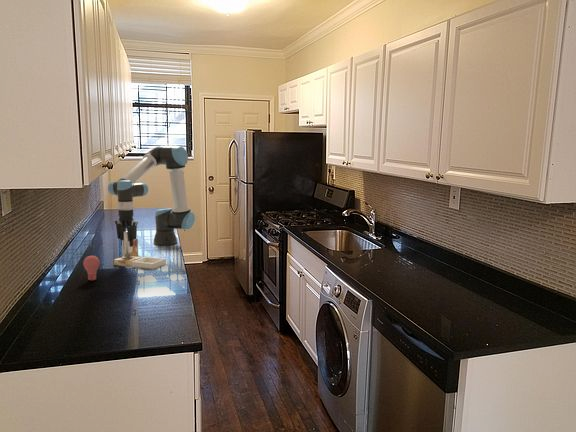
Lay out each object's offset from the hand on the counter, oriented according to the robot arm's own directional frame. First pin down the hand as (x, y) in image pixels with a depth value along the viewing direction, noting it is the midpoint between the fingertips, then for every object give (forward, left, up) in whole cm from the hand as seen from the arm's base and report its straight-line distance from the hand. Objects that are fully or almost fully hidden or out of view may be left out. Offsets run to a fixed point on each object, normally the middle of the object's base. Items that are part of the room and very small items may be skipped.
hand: (127, 251), depth 238 cm
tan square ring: (0, 0, -7) cm, 7 cm away
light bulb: (+31, +5, -7) cm, 32 cm away
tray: (-1, +13, -7) cm, 15 cm away
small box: (-12, -8, -7) cm, 16 cm away
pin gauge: (0, 0, -3) cm, 3 cm away
